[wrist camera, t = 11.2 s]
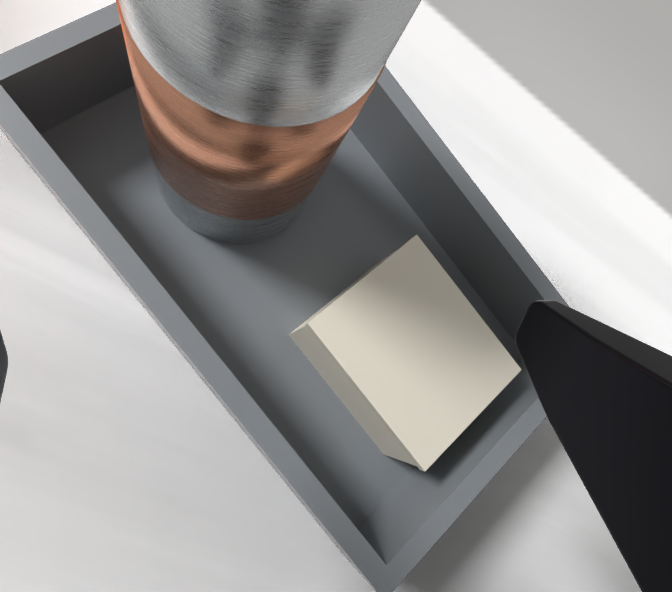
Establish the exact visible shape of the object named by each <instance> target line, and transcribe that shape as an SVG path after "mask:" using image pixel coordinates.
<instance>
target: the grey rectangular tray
mask: <svg viewBox="0 0 672 592" xmlns="http://www.w3.org/2000/svg"><path fill="white" fill-rule="evenodd" d="M0 129H1V130H2V131H3V133H4V134H5V135H6V137H7V138H8V139H9V141H10V142H11V143H12V144H13V146H14V147H15V148H16V149H17V150H18V152H19V153H20V154H21V155H22V157H23V158H24V159H25V160H26V162H27V163H28V164H29V165H30V167H31V168H32V169H33V170H34V172H35V173H36V174H37V175H38V176H39V178H40V179H41V180H42V181H43V183H44V184H45V185H46V186H47V188H48V189H49V190H50V191H51V193H52V194H53V195H54V196H55V198H56V199H57V200H58V201H59V203H60V204H61V205H62V206H63V207H64V209H65V210H66V211H67V212H68V214H69V215H70V216H71V217H72V219H73V220H74V221H75V222H76V224H77V225H78V226H79V227H80V229H81V230H82V231H83V232H84V234H85V235H86V236H87V237H88V238H89V240H90V241H91V242H92V243H93V245H94V246H95V247H96V248H97V250H98V251H99V252H100V253H101V255H102V256H103V257H104V258H105V260H106V261H107V262H108V263H109V264H110V266H111V267H112V268H113V269H114V271H115V272H116V273H117V274H118V276H119V277H120V278H121V279H122V281H123V282H124V283H125V284H126V286H127V287H128V288H129V289H130V291H131V292H132V293H133V294H134V295H135V297H136V298H137V299H138V300H139V302H140V303H141V304H142V305H143V307H144V308H145V309H146V310H147V312H148V313H149V314H150V315H151V317H152V318H153V319H154V320H155V321H156V323H157V324H158V325H159V326H160V328H161V329H162V330H163V331H164V333H165V334H166V335H167V336H168V338H169V339H170V340H171V341H172V343H173V344H174V345H175V346H176V348H177V349H178V350H179V351H180V352H181V354H182V355H183V356H184V357H185V359H186V360H187V361H188V362H189V364H190V365H191V366H192V367H193V369H194V370H195V371H196V372H197V374H198V375H199V376H200V377H201V378H202V380H203V381H204V382H205V383H206V385H207V386H208V387H209V388H210V390H211V391H212V392H213V393H214V395H215V396H216V397H217V398H218V400H219V401H220V402H221V403H222V405H223V406H224V407H225V408H226V409H227V411H228V412H229V413H230V414H231V416H232V417H233V418H234V419H235V421H236V422H237V423H238V424H239V426H240V427H241V428H242V429H243V431H244V432H245V433H246V434H247V435H248V437H249V438H250V439H251V440H252V442H253V443H254V444H255V445H256V447H257V448H258V449H259V450H260V452H261V453H262V454H263V455H264V457H265V458H266V459H267V460H268V462H269V463H270V464H271V465H272V466H273V468H274V469H275V470H276V471H277V473H278V474H279V475H280V476H281V478H282V479H283V480H284V481H285V483H286V484H287V485H288V486H289V488H290V489H291V490H292V491H293V492H294V494H295V495H296V496H297V497H298V499H299V500H300V501H301V502H302V504H303V505H304V506H305V507H306V509H307V510H308V511H309V512H310V514H311V515H312V516H313V517H314V519H315V520H316V521H317V522H318V523H319V525H320V526H321V527H322V528H323V530H324V531H325V532H326V533H327V535H328V536H329V537H330V538H331V540H332V541H333V542H334V543H335V545H336V546H337V547H338V548H339V549H340V551H341V552H342V553H343V554H344V556H345V557H346V558H347V559H348V560H349V561H350V563H351V564H352V565H353V566H354V567H355V568H356V569H357V570H358V571H359V573H360V574H361V575H362V576H363V577H364V578H365V579H366V580H367V582H368V583H369V584H370V585H371V586H372V587H373V588H374V589H375V591H376V592H393V591H394V590H395V588H396V587H397V586H398V585H399V584H400V583H401V582H402V581H403V579H404V578H405V577H406V576H407V575H408V574H409V573H410V571H411V570H412V569H413V568H414V567H415V566H416V565H417V563H418V562H419V561H420V560H421V559H422V558H423V557H424V555H425V554H426V553H427V552H428V551H429V550H430V549H431V547H432V546H433V545H434V544H435V543H436V542H437V541H438V540H439V538H440V537H441V536H442V535H443V534H444V533H445V532H446V530H447V529H448V528H449V527H450V526H451V525H452V524H453V522H454V521H455V520H456V519H457V518H458V517H459V516H460V514H461V513H462V512H463V511H464V510H465V509H466V508H467V506H468V505H469V504H470V503H471V502H472V501H473V500H474V499H475V497H476V496H477V495H478V494H479V493H480V492H481V491H482V489H483V488H484V487H485V486H486V485H487V484H488V483H489V481H490V480H491V479H492V478H493V477H494V476H495V475H496V473H497V472H498V471H499V470H500V469H501V468H502V467H503V465H504V464H505V463H506V462H507V461H508V460H509V459H510V458H511V456H512V455H513V454H514V453H515V452H516V451H517V450H518V448H519V447H520V446H521V445H522V444H523V443H524V442H525V440H526V439H527V438H528V437H529V436H530V435H531V434H532V432H533V431H534V430H535V429H536V428H537V427H538V426H539V424H540V423H541V422H542V421H543V420H544V419H545V418H546V417H547V415H546V413H545V411H544V409H543V407H542V404H541V402H540V400H539V398H538V395H537V393H536V390H535V388H534V386H533V383H532V381H531V379H530V376H529V374H528V372H527V369H526V367H525V364H524V362H523V360H522V357H521V355H520V353H519V350H518V348H517V345H516V341H515V337H516V332H517V330H518V328H519V326H520V324H521V321H522V319H523V317H524V315H525V313H526V311H527V309H528V307H529V305H530V304H531V303H532V302H534V301H536V300H554V301H557V302H559V303H561V304H563V305H566V306H568V305H567V303H566V302H565V301H564V299H563V298H562V297H561V295H560V294H559V293H558V292H557V290H556V289H555V288H554V286H553V285H552V284H551V282H550V281H549V280H548V278H547V277H546V276H545V275H544V273H543V272H542V271H541V269H540V268H539V267H538V265H537V264H536V263H535V261H534V260H533V259H532V258H531V256H530V255H529V254H528V252H527V251H526V250H525V248H524V247H523V246H522V244H521V243H520V242H519V240H518V239H517V238H516V237H515V235H514V234H513V233H512V231H511V230H510V229H509V227H508V226H507V225H506V223H505V222H504V221H503V220H502V218H501V217H500V216H499V214H498V213H497V212H496V210H495V209H494V208H493V206H492V205H491V204H490V203H489V201H488V200H487V199H486V197H485V196H484V195H483V193H482V192H481V191H480V189H479V188H478V187H477V186H476V184H475V183H474V182H473V180H472V179H471V178H470V176H469V175H468V174H467V172H466V171H465V170H464V168H463V167H462V166H461V165H460V163H459V162H458V161H457V159H456V158H455V157H454V155H453V154H452V153H451V151H450V150H449V149H448V148H447V146H446V145H445V144H444V142H443V141H442V140H441V138H440V137H439V136H438V134H437V133H436V132H435V131H434V129H433V128H432V127H431V125H430V124H429V123H428V121H427V120H426V119H425V117H424V116H423V115H422V114H421V112H420V111H419V110H418V108H417V107H416V106H415V104H414V103H413V102H412V100H411V99H410V98H409V97H408V95H407V94H406V93H405V91H404V90H403V89H402V87H401V86H400V85H399V83H398V82H397V81H396V79H395V78H394V77H393V76H392V74H391V73H390V72H389V70H388V69H387V68H386V66H385V67H384V70H383V72H382V74H381V75H380V77H379V79H378V81H377V83H376V84H375V86H374V88H373V90H372V91H371V93H370V95H369V96H368V98H367V100H366V102H365V103H364V105H363V107H362V108H361V110H360V112H359V114H358V115H357V117H356V119H355V120H354V122H353V124H352V126H351V127H350V129H349V131H348V132H347V134H346V136H345V138H344V139H343V141H342V143H341V144H340V146H339V148H338V150H337V151H336V153H335V155H334V156H333V158H332V160H331V162H330V163H329V165H328V167H327V168H326V170H325V172H324V174H323V175H322V177H321V179H320V180H319V182H318V184H317V185H316V187H315V188H314V189H313V191H312V192H311V193H310V195H309V197H308V198H307V200H306V202H305V204H304V205H303V207H302V209H301V210H300V212H299V214H298V215H297V216H296V218H295V219H294V220H293V221H292V222H291V223H290V224H289V225H288V226H287V227H286V228H285V229H283V230H282V231H281V232H279V233H277V234H276V235H274V236H272V237H270V238H267V239H264V240H262V241H257V242H253V243H245V244H231V243H224V242H219V241H216V240H212V239H209V238H207V237H204V236H202V235H200V234H198V233H196V232H195V231H193V230H191V229H190V228H189V227H187V226H186V225H185V224H183V223H182V222H181V221H180V220H179V219H178V218H177V217H176V216H175V215H174V214H173V212H172V211H171V210H170V209H169V207H168V206H167V204H166V202H165V201H164V199H163V197H162V195H161V192H160V190H159V187H158V183H157V179H156V175H155V170H154V165H153V160H152V157H151V155H150V151H149V148H148V144H147V140H146V136H145V131H144V126H143V122H142V117H141V113H140V108H139V104H138V99H137V94H136V90H135V85H134V81H133V76H132V72H131V67H130V63H129V58H128V53H127V49H126V44H125V40H124V35H123V31H122V26H121V21H120V17H119V12H118V8H117V2H116V3H114V4H111V5H109V6H107V7H105V8H102V9H100V10H98V11H96V12H93V13H91V14H89V15H87V16H85V17H82V18H80V19H78V20H76V21H73V22H71V23H69V24H67V25H65V26H62V27H60V28H58V29H56V30H53V31H51V32H49V33H47V34H44V35H42V36H40V37H38V38H36V39H33V40H31V41H29V42H27V43H24V44H22V45H20V46H18V47H15V48H13V49H11V50H9V51H7V52H4V53H2V54H0ZM415 235H418V236H419V238H420V239H421V240H422V242H423V243H424V244H425V246H426V247H427V248H428V249H429V251H430V252H431V253H432V255H433V256H434V257H435V258H436V260H437V261H438V262H439V264H440V265H441V266H442V267H443V269H444V270H445V271H446V273H447V274H448V275H449V277H450V278H451V279H452V280H453V282H454V283H455V284H456V286H457V287H458V288H459V289H460V291H461V292H462V293H463V295H464V296H465V297H466V299H467V300H468V301H469V302H470V304H471V305H472V306H473V308H474V309H475V310H476V311H477V313H478V314H479V315H480V317H481V318H482V319H483V320H484V322H485V323H486V324H487V326H488V327H489V328H490V330H491V331H492V332H493V333H494V335H495V336H496V337H497V339H498V340H499V341H500V342H501V344H502V345H503V346H504V348H505V349H506V350H507V351H508V353H509V354H510V355H511V357H512V358H513V359H514V361H515V362H516V363H517V364H518V366H519V367H520V368H521V371H520V372H519V373H518V374H517V375H516V376H515V377H514V378H513V379H512V380H511V381H510V382H509V384H508V385H507V386H506V387H505V388H504V389H503V390H502V391H501V392H500V393H499V394H498V395H497V396H496V397H495V398H494V399H493V400H492V401H491V403H490V404H489V405H488V406H487V407H486V408H485V409H484V410H483V411H482V412H481V413H480V414H479V415H478V416H477V417H476V418H475V419H474V420H473V422H472V423H471V424H470V425H469V426H468V427H467V428H466V429H465V430H464V431H463V432H462V433H461V434H460V435H459V436H458V437H457V438H456V440H455V441H454V442H453V443H452V444H451V445H450V446H449V447H448V448H447V449H446V450H445V451H444V452H443V453H442V454H441V455H440V456H439V457H438V459H437V460H436V461H435V462H434V463H433V464H432V465H431V466H430V467H429V468H428V469H427V470H426V471H422V470H419V468H418V467H417V466H414V465H412V464H409V463H406V462H403V461H401V460H398V459H395V458H392V457H390V456H387V455H384V454H383V453H382V452H381V450H380V449H379V448H378V447H377V445H376V444H375V443H374V442H373V440H372V439H371V438H370V437H369V435H368V434H367V433H366V432H365V430H364V429H363V428H362V427H361V425H360V424H359V423H358V422H357V420H356V419H355V418H354V417H353V415H352V414H351V413H350V411H349V410H348V409H347V408H346V406H345V405H344V404H343V403H342V401H341V400H340V399H339V398H338V396H337V395H336V394H335V393H334V391H333V390H332V389H331V388H330V386H329V385H328V384H327V383H326V381H325V380H324V379H323V378H322V376H321V375H320V374H319V372H318V371H317V370H316V369H315V367H314V366H313V365H312V364H311V362H310V361H309V360H308V359H307V357H306V356H305V355H304V354H303V352H302V351H301V350H300V349H299V347H298V346H297V345H296V344H295V342H294V341H293V340H292V338H291V337H290V336H289V334H290V333H291V332H293V331H294V330H295V329H296V328H297V327H299V326H300V325H301V324H302V323H304V322H305V321H306V320H307V319H309V318H310V317H311V316H312V315H314V314H315V313H316V312H317V311H318V310H320V309H321V308H322V307H323V306H325V305H326V304H327V303H328V302H330V301H331V300H332V299H333V298H335V297H336V296H337V295H338V294H340V293H341V292H342V291H343V290H344V289H346V288H347V287H348V286H349V285H351V284H352V283H353V282H354V281H356V280H357V279H358V278H359V277H361V276H362V275H363V274H364V273H365V272H367V271H368V270H369V269H370V268H372V267H373V266H374V265H375V264H377V263H378V262H379V261H380V260H382V259H384V258H385V257H387V256H388V255H390V254H391V253H393V252H394V251H396V250H397V249H399V248H400V247H401V246H403V245H404V244H405V243H406V242H407V241H409V240H410V239H411V238H412V237H414V236H415ZM568 307H569V306H568Z"/></svg>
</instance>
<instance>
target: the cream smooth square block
mask: <svg viewBox="0 0 672 592" xmlns="http://www.w3.org/2000/svg"><path fill="white" fill-rule="evenodd" d="M289 336H290V337H291V338H292V340H293V341H294V342H295V344H296V345H297V346H298V347H299V349H300V350H301V351H302V352H303V354H304V355H305V356H306V357H307V359H308V360H309V361H310V362H311V364H312V365H313V366H314V367H315V369H316V370H317V371H318V372H319V374H320V375H321V376H322V378H323V379H324V380H325V381H326V383H327V384H328V385H329V386H330V388H331V389H332V390H333V391H334V393H335V394H336V395H337V396H338V398H339V399H340V400H341V401H342V403H343V404H344V405H345V406H346V408H347V409H348V410H349V411H350V413H351V414H352V415H353V417H354V418H355V419H356V420H357V422H358V423H359V424H360V425H361V427H362V428H363V429H364V430H365V432H366V433H367V434H368V435H369V437H370V438H371V439H372V440H373V442H374V443H375V444H376V445H377V447H378V448H379V449H380V450H381V452H382V453H383V454H384V455H387V456H390V457H392V458H395V459H398V460H401V461H403V462H406V463H409V464H412V465H414V466H417V467H418V468H419V470H422V471H426V470H427V469H428V468H429V467H430V466H431V465H432V464H433V463H434V462H435V461H436V460H437V459H438V457H439V456H440V455H441V454H442V453H443V452H444V451H445V450H446V449H447V448H448V447H449V446H450V445H451V444H452V443H453V442H454V441H455V440H456V438H457V437H458V436H459V435H460V434H461V433H462V432H463V431H464V430H465V429H466V428H467V427H468V426H469V425H470V424H471V423H472V422H473V420H474V419H475V418H476V417H477V416H478V415H479V414H480V413H481V412H482V411H483V410H484V409H485V408H486V407H487V406H488V405H489V404H490V403H491V401H492V400H493V399H494V398H495V397H496V396H497V395H498V394H499V393H500V392H501V391H502V390H503V389H504V388H505V387H506V386H507V385H508V384H509V382H510V381H511V380H512V379H513V378H514V377H515V376H516V375H517V374H518V373H519V372H520V371H521V368H520V367H519V366H518V364H517V363H516V362H515V361H514V359H513V358H512V357H511V355H510V354H509V353H508V351H507V350H506V349H505V348H504V346H503V345H502V344H501V342H500V341H499V340H498V339H497V337H496V336H495V335H494V333H493V332H492V331H491V330H490V328H489V327H488V326H487V324H486V323H485V322H484V320H483V319H482V318H481V317H480V315H479V314H478V313H477V311H476V310H475V309H474V308H473V306H472V305H471V304H470V302H469V301H468V300H467V299H466V297H465V296H464V295H463V293H462V292H461V291H460V289H459V288H458V287H457V286H456V284H455V283H454V282H453V280H452V279H451V278H450V277H449V275H448V274H447V273H446V271H445V270H444V269H443V267H442V266H441V265H440V264H439V262H438V261H437V260H436V258H435V257H434V256H433V255H432V253H431V252H430V251H429V249H428V248H427V247H426V246H425V244H424V243H423V242H422V240H421V239H420V238H419V236H418V235H415V236H414V237H412V238H411V239H410V240H409V241H407V242H406V243H405V244H404V245H403V246H401V247H400V248H399V249H397V250H396V251H394V252H393V253H391V254H390V255H388V256H387V257H385V258H384V259H382V260H380V261H379V262H378V263H377V264H375V265H374V266H373V267H372V268H370V269H369V270H368V271H367V272H365V273H364V274H363V275H362V276H361V277H359V278H358V279H357V280H356V281H354V282H353V283H352V284H351V285H349V286H348V287H347V288H346V289H344V290H343V291H342V292H341V293H340V294H338V295H337V296H336V297H335V298H333V299H332V300H331V301H330V302H328V303H327V304H326V305H325V306H323V307H322V308H321V309H320V310H318V311H317V312H316V313H315V314H314V315H312V316H311V317H310V318H309V319H307V320H306V321H305V322H304V323H302V324H301V325H300V326H299V327H297V328H296V329H295V330H294V331H293V332H291V333H290V334H289Z"/></svg>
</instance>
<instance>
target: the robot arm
mask: <svg viewBox="0 0 672 592" xmlns="http://www.w3.org/2000/svg"><path fill="white" fill-rule="evenodd" d="M515 341H516V345H517V348H518V350H519V353H520V355H521V357H522V360H523V362H524V364H525V367H526V369H527V372H528V374H529V376H530V379H531V381H532V383H533V386H534V388H535V390H536V393H537V395H538V398H539V400H540V402H541V404H542V407H543V409H544V411H545V413H546V415H547V417H548V419H549V421H550V423H551V425H552V427H553V428H554V430H555V432H556V434H557V436H558V438H559V439H560V441H561V443H562V445H563V447H564V449H565V451H566V452H567V454H568V456H569V458H570V460H571V462H572V463H573V465H574V467H575V469H576V471H577V473H578V475H579V476H580V478H581V480H582V482H583V484H584V486H585V487H586V489H587V491H588V493H589V495H590V497H591V499H592V500H593V502H594V504H595V506H596V508H597V510H598V511H599V513H600V515H601V517H602V519H603V521H604V523H605V524H606V526H607V528H608V530H609V532H610V534H611V535H612V537H613V539H614V541H615V543H616V545H617V547H618V548H619V550H620V552H621V554H622V556H623V558H624V559H625V561H626V563H627V565H628V567H629V569H630V571H631V572H632V574H633V576H634V578H635V580H636V582H637V583H638V585H639V587H640V589H641V591H642V592H672V356H670V355H668V354H666V353H664V352H662V351H660V350H658V349H656V348H653V347H651V346H649V345H647V344H645V343H643V342H641V341H639V340H637V339H635V338H633V337H630V336H628V335H626V334H624V333H622V332H620V331H618V330H616V329H614V328H612V327H610V326H607V325H605V324H603V323H601V322H599V321H597V320H595V319H593V318H591V317H589V316H586V315H584V314H582V313H580V312H578V311H576V310H574V309H572V308H570V307H568V306H566V305H563V304H561V303H559V302H557V301H554V300H536V301H534V302H532V303H531V304H530V305H529V307H528V309H527V311H526V313H525V315H524V317H523V319H522V321H521V324H520V326H519V328H518V330H517V332H516V337H515ZM7 368H8V356H7V351H6V348H5V345H4V341H3V338H2V334H1V331H0V402H1V397H2V392H3V388H4V383H5V378H6V374H7Z"/></svg>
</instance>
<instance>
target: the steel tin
mask: <svg viewBox="0 0 672 592" xmlns="http://www.w3.org/2000/svg"><path fill="white" fill-rule="evenodd" d="M116 2H117V8H118V12H119V17H120V21H121V26H122V31H123V35H124V40H125V44H126V49H127V53H128V58H129V63H130V67H131V72H132V76H133V81H134V85H135V90H136V94H137V99H138V104H139V108H140V113H141V117H142V122H143V126H144V131H145V136H146V140H147V144H148V148H149V151H150V155H151V157H152V160H153V165H154V170H155V175H156V179H157V183H158V187H159V190H160V192H161V195H162V197H163V199H164V201H165V202H166V204H167V206H168V207H169V209H170V210H171V211H172V212H173V214H174V215H175V216H176V217H177V218H178V219H179V220H180V221H181V222H182V223H183V224H185V225H186V226H187V227H189V228H190V229H191V230H193V231H195V232H196V233H198V234H200V235H202V236H204V237H207V238H209V239H212V240H216V241H219V242H224V243H231V244H245V243H253V242H257V241H262V240H264V239H267V238H270V237H272V236H274V235H276V234H277V233H279V232H281V231H282V230H283V229H285V228H286V227H287V226H288V225H289V224H290V223H291V222H292V221H293V220H294V219H295V218H296V216H297V215H298V214H299V212H300V210H301V209H302V207H303V205H304V204H305V202H306V200H307V198H308V197H309V195H310V193H311V192H312V191H313V189H314V188H315V187H316V185H317V184H318V182H319V180H320V179H321V177H322V175H323V174H324V172H325V170H326V168H327V167H328V165H329V163H330V162H331V160H332V158H333V156H334V155H335V153H336V151H337V150H338V148H339V146H340V144H341V143H342V141H343V139H344V138H345V136H346V134H347V132H348V131H349V129H350V127H351V126H352V124H353V122H354V120H355V119H356V117H357V115H358V114H359V112H360V110H361V108H362V107H363V105H364V103H365V102H366V100H367V98H368V96H369V95H370V93H371V91H372V90H373V88H374V86H375V84H376V83H377V81H378V79H379V77H380V75H381V74H382V72H383V70H384V67H385V64H386V61H387V59H388V57H389V56H390V54H391V52H392V50H393V49H394V47H395V45H396V43H397V42H398V40H399V38H400V37H401V35H402V33H403V31H404V30H405V28H406V26H407V24H408V23H409V21H410V19H411V17H412V16H413V14H414V12H415V10H416V9H417V7H418V5H419V3H420V2H421V0H116Z"/></svg>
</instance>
